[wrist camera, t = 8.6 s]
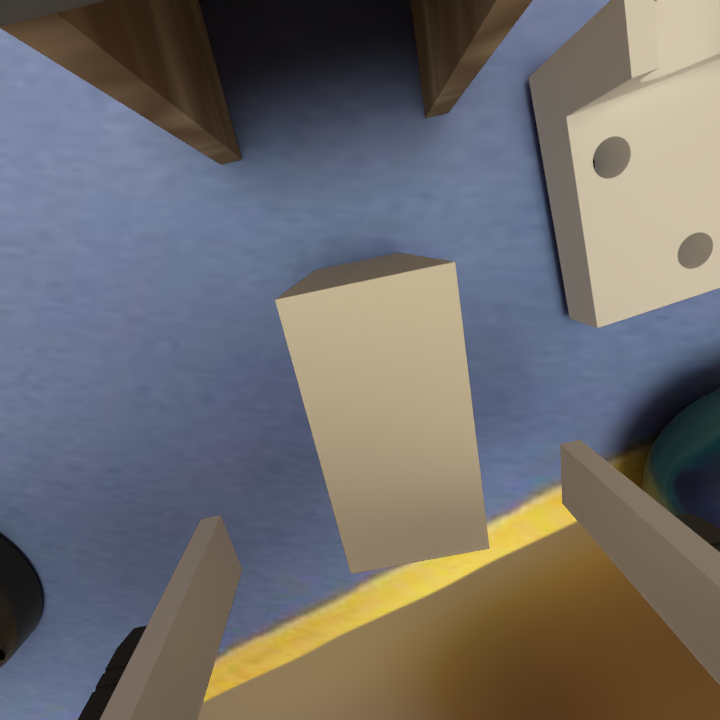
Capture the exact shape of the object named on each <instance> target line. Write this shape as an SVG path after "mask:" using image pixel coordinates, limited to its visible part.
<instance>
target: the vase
mask: <svg viewBox="0 0 720 720" xmlns="http://www.w3.org/2000/svg"><path fill="white" fill-rule="evenodd" d="M642 490H643V491H644V492H646V493H647V494H648V495H649V496H650V497H652V498H653V499H654V500H655V501H657V502H658V503H659V504H660V505H662V506H663V507H664V508H665V509H667V510H668V511H669V512H670V513H671V514H673V515H674V516H675V515H680V514H685V513H691V514H693V515H695V516H697V517H699V518H701V519H703V520H705V521H707V522H710V523H712V524H713V525H715V526H716V527H717V528H719V529H720V388H719V389H717V390H715V391H713V392H711V393H709V394H707V395H705V396H703V397H701V398H699V399H698V400H696V401H695V402H693V403H692V404H690V405H689V406H687V407H686V408H684V409H683V410H682V411H681V412H680V413H679V414H677V415H676V416H675V417H674V418H673V419H672V420H671V421H670V422H669V423H668V424H667V425H666V427H665V428H664V429H663V430H662V432H661V433H660V434H659V436H658V437H657V439H656V440H655V442H654V444H653V446H652V448H651V450H650V451H649V454H648V457H647V460H646V463H645V467H644V473H643V479H642Z"/></svg>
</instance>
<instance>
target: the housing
mask: <svg viewBox="0 0 720 720" xmlns="http://www.w3.org/2000/svg"><path fill="white" fill-rule="evenodd" d="M410 1H411V9H412V17H413V25H414V32H415V40H416V48H417V56H418V63H419V71H420V79H421V87H422V95H423V102H424V110H425V118H428V117H432V116H437V115H441V114H446V113H448V112H449V111H450V110H451V108H452V107H453V106H454V104H455V103H456V102H457V100H458V99H459V98H460V96H461V95H462V94H463V92H464V91H465V90H466V88H467V87H468V86H469V84H470V83H471V82H472V80H473V79H474V78H475V76H476V75H477V74H478V72H479V71H480V70H481V68H482V67H483V66H484V64H485V63H486V62H487V60H488V59H489V58H490V56H491V55H492V54H493V52H494V51H495V50H496V48H497V47H498V46H499V44H500V43H501V42H502V40H503V39H504V38H505V36H506V35H507V34H508V32H509V31H510V30H511V28H512V27H513V26H514V24H515V23H516V22H517V20H518V19H519V18H520V16H521V15H522V14H523V12H524V11H525V10H526V8H527V7H528V6H529V4H530V3H531V2H532V0H410ZM0 28H1V29H3V30H4V31H6V32H8V33H9V34H11V35H12V36H14V37H16V38H17V39H19V40H20V41H22V42H24V43H25V44H27V45H29V46H30V47H32V48H33V49H35V50H37V51H38V52H40V53H41V54H43V55H45V56H46V57H48V58H50V59H51V60H53V61H54V62H56V63H58V64H59V65H61V66H62V67H64V68H66V69H67V70H69V71H70V72H72V73H74V74H75V75H77V76H79V77H80V78H82V79H83V80H85V81H87V82H88V83H90V84H91V85H93V86H95V87H96V88H98V89H100V90H101V91H103V92H104V93H106V94H108V95H109V96H111V97H112V98H114V99H116V100H117V101H119V102H120V103H122V104H124V105H125V106H127V107H129V108H130V109H132V110H133V111H135V112H137V113H138V114H140V115H141V116H143V117H145V118H146V119H148V120H150V121H151V122H153V123H154V124H156V125H158V126H159V127H161V128H162V129H164V130H166V131H167V132H169V133H170V134H172V135H174V136H175V137H177V138H179V139H180V140H182V141H183V142H185V143H187V144H188V145H190V146H191V147H193V148H195V149H196V150H198V151H200V152H201V153H203V154H204V155H206V156H208V157H209V158H211V159H212V160H214V161H216V162H217V163H219V164H225V163H229V162H234V161H238V160H242V158H241V154H240V150H239V147H238V143H237V139H236V136H235V132H234V128H233V125H232V121H231V117H230V114H229V110H228V106H227V103H226V99H225V95H224V92H223V88H222V84H221V81H220V77H219V73H218V70H217V66H216V62H215V59H214V55H213V51H212V48H211V44H210V40H209V36H208V33H207V29H206V25H205V22H204V18H203V14H202V11H201V7H200V3H199V0H0Z"/></svg>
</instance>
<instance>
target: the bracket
mask: <svg viewBox="0 0 720 720" xmlns="http://www.w3.org/2000/svg"><path fill="white" fill-rule="evenodd" d="M528 78H529V83H530V89H531V95H532V101H533V107H534V113H535V119H536V124H537V130H538V136H539V142H540V148H541V154H542V160H543V165H544V171H545V177H546V183H547V189H548V195H549V201H550V206H551V212H552V218H553V224H554V230H555V236H556V242H557V247H558V253H559V259H560V265H561V271H562V277H563V283H564V288H565V294H566V300H567V306H568V312H569V318H570V319H572V320H575V321H578V322H581V323H584V324H587V325H590V326H593V327H596V328H599V327H602V326H605V325H608V324H611V323H614V322H617V321H621V320H624V319H627V318H630V317H633V316H636V315H639V314H642V313H645V312H648V311H651V310H654V309H657V308H660V307H663V306H666V305H669V304H672V303H675V302H678V301H681V300H684V299H687V298H690V297H693V296H696V295H699V294H702V293H705V292H708V291H711V290H714V289H717V288H720V0H657V1H654V0H611V1H610V2H609V3H607V4H606V5H605V6H604V7H603V8H602V9H601V10H600V11H599V12H598V13H597V14H596V15H595V16H594V17H592V18H591V19H590V20H589V21H588V22H587V23H586V24H585V25H584V26H583V27H582V28H581V29H580V30H579V31H578V32H576V33H575V34H574V35H573V36H572V37H571V38H570V39H569V40H568V41H567V42H566V43H565V44H564V45H563V46H561V47H560V48H559V49H558V50H557V51H556V52H555V53H554V54H553V55H552V56H551V57H550V58H549V59H548V60H547V61H545V62H544V63H543V64H542V65H541V66H540V67H539V68H538V69H537V70H536V71H535V72H534V73H533V74H532V75H531V76H529V77H528ZM593 158H594V161H595V170H594V167H593Z"/></svg>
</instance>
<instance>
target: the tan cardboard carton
mask: <svg viewBox="0 0 720 720" xmlns="http://www.w3.org/2000/svg"><path fill="white" fill-rule="evenodd" d="M275 301H276V305H277V309H278V312H279V316H280V319H281V323H282V327H283V330H284V334H285V337H286V341H287V345H288V348H289V352H290V356H291V359H292V363H293V366H294V370H295V374H296V377H297V381H298V384H299V388H300V392H301V395H302V399H303V402H304V406H305V410H306V413H307V417H308V421H309V424H310V428H311V431H312V435H313V439H314V442H315V446H316V449H317V453H318V457H319V460H320V464H321V468H322V471H323V475H324V478H325V482H326V486H327V489H328V493H329V496H330V500H331V504H332V507H333V511H334V514H335V518H336V522H337V525H338V529H339V533H340V536H341V540H342V543H343V547H344V551H345V554H346V558H347V561H348V565H349V569H350V572H351V574H353V573H359V572H364V571H370V570H375V569H381V568H386V567H391V566H397V565H402V564H408V563H413V562H419V561H424V560H430V559H435V558H441V557H446V556H452V555H457V554H463V553H468V552H474V551H479V550H485V549H489V541H488V533H487V525H486V516H485V508H484V500H483V491H482V483H481V475H480V466H479V458H478V449H477V441H476V433H475V424H474V416H473V408H472V399H471V391H470V383H469V374H468V366H467V357H466V349H465V341H464V332H463V324H462V316H461V307H460V299H459V290H458V282H457V274H456V265H455V262H453V261H447V260H441V259H435V258H429V257H423V256H417V255H411V254H404V253H393V254H389V255H384V256H379V257H375V258H370V259H365V260H361V261H356V262H351V263H347V264H342V265H337V266H333V267H328V268H323V269H318V270H315V271H313V272H312V273H311V274H309V275H308V276H306V277H305V278H304V279H302V280H301V281H300V282H298V283H297V284H296V285H294V286H293V287H292V288H290V289H289V290H288V291H286V292H285V293H284V294H282V295H281V296H280V297H278V298H277V299H276V300H275Z"/></svg>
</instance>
